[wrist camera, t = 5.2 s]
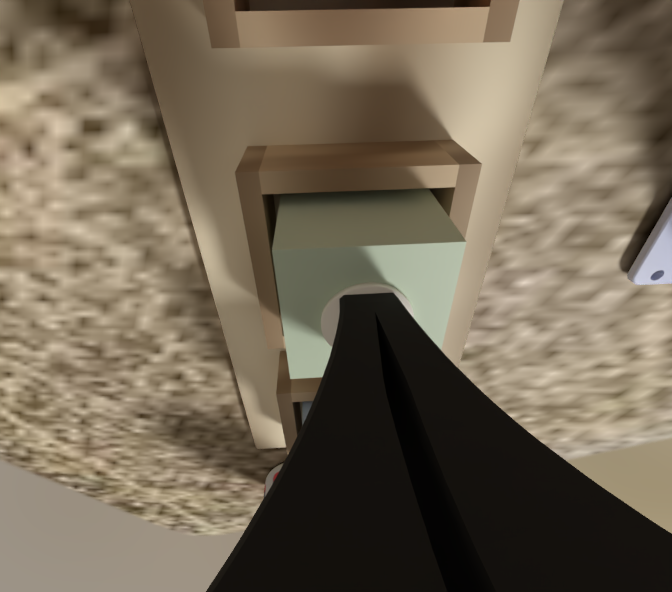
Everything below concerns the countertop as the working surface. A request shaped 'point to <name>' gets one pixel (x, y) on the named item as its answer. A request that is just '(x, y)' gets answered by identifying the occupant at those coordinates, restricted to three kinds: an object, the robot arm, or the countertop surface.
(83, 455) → the countertop surface
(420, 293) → the sage block
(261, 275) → the birch board
